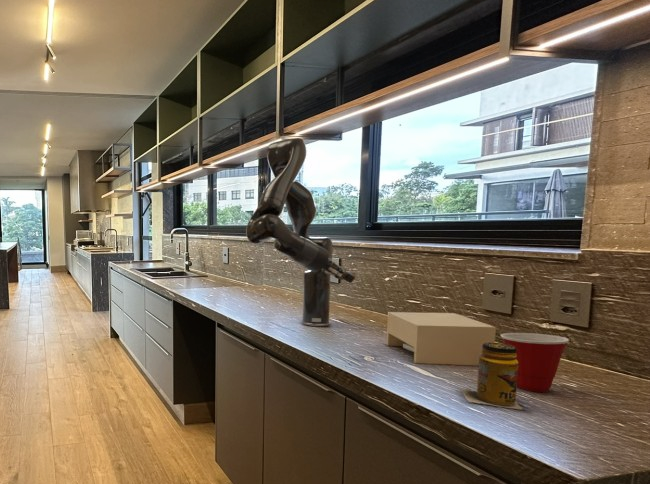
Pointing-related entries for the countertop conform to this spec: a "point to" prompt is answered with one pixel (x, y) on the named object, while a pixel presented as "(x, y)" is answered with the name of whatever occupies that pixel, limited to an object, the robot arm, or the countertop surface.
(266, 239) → the robot arm
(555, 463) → the countertop surface
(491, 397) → the condiment
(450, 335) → the cover
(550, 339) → the plastic cup
